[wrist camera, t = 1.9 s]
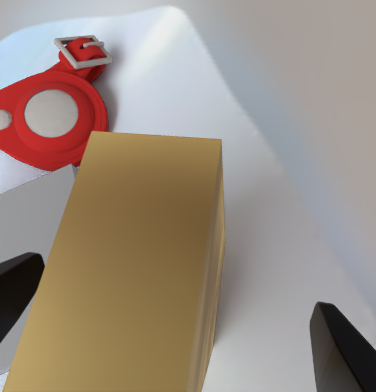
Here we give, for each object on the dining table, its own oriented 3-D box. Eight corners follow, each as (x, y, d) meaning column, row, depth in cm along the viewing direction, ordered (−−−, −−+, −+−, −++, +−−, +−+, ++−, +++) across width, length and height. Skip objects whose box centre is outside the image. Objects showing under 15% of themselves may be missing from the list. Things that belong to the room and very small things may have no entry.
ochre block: (212, 348, 14) (165, 530, 3) (162, 336, 15) (-22, 460, 4) (225, 243, 16) (221, 139, 5) (180, 236, 17) (91, 130, 6)
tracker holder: (111, 163, 19) (-38, 168, 18) (120, 176, 23) (1, 181, 22) (107, 17, 20) (-30, 12, 19) (115, 55, 25) (5, 53, 24)
